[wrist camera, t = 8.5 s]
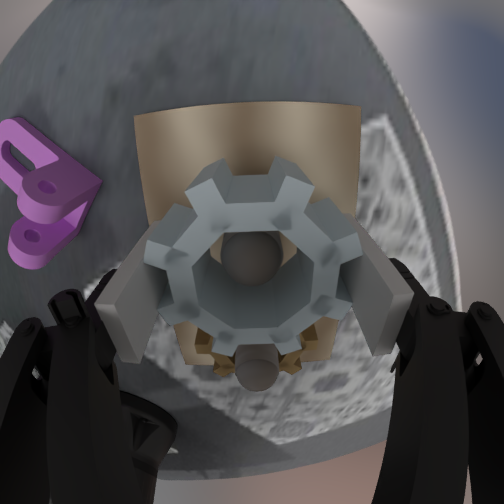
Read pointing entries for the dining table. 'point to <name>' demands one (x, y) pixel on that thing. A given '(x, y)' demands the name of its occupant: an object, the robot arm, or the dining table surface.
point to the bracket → (43, 194)
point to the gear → (245, 220)
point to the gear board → (251, 163)
